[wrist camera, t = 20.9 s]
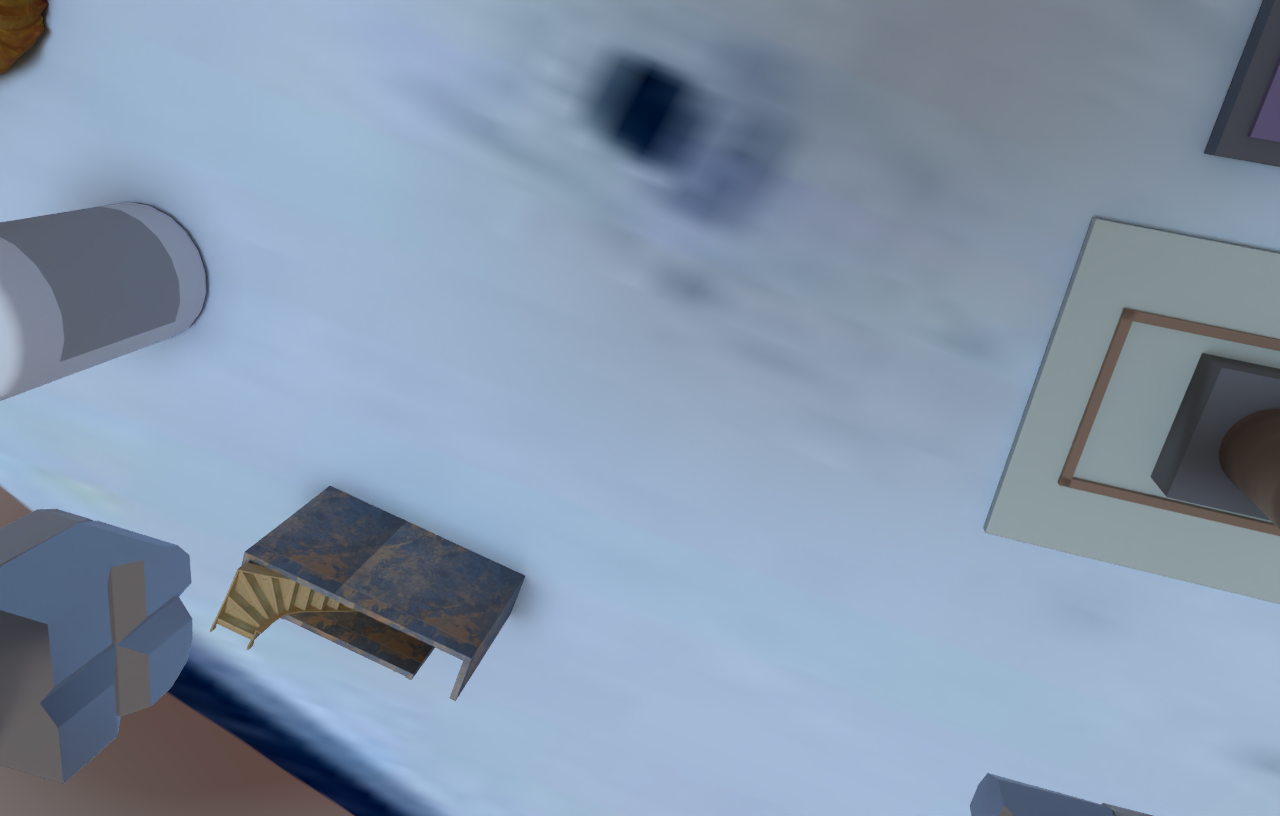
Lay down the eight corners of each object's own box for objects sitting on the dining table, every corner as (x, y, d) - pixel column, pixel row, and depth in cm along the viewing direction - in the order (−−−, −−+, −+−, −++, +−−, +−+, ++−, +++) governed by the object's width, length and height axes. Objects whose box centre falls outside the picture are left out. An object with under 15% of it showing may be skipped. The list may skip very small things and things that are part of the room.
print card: (1092, 217, 35) (1098, 220, 34) (1545, 303, 32) (1561, 308, 32) (983, 527, 40) (986, 536, 39) (1367, 620, 38) (1378, 630, 37)
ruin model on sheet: (321, 528, 48) (203, 628, 39) (334, 482, 47) (215, 574, 38) (510, 616, 47) (433, 738, 39) (527, 571, 46) (452, 687, 37)
